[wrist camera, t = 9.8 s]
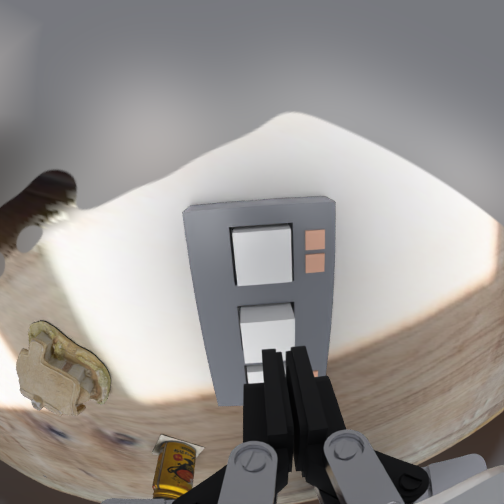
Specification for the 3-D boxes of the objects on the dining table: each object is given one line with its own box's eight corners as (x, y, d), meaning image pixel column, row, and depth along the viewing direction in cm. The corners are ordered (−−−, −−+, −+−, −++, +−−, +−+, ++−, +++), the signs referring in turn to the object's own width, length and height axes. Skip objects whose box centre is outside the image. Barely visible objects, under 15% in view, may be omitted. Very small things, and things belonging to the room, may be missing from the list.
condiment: (204, 446, 37) (198, 508, 25) (190, 464, 39) (183, 517, 28) (161, 433, 35) (147, 495, 24) (151, 452, 38) (139, 505, 26)
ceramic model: (37, 365, 31) (7, 405, 22) (27, 309, 28) (-15, 350, 19) (112, 401, 33) (90, 452, 24) (112, 350, 30) (80, 408, 20)
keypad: (325, 196, 24) (336, 202, 21) (317, 380, 31) (323, 398, 28) (189, 205, 24) (181, 212, 21) (220, 388, 31) (218, 407, 28)
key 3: (287, 347, 29) (291, 368, 26) (287, 375, 31) (291, 396, 27) (246, 350, 29) (247, 372, 26) (250, 378, 31) (250, 400, 27)
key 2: (289, 298, 25) (295, 318, 22) (289, 336, 27) (294, 359, 24) (240, 302, 25) (240, 323, 22) (244, 340, 27) (244, 363, 24)
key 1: (284, 219, 25) (290, 229, 21) (286, 265, 26) (292, 281, 23) (234, 222, 25) (232, 233, 21) (238, 269, 26) (237, 286, 23)
